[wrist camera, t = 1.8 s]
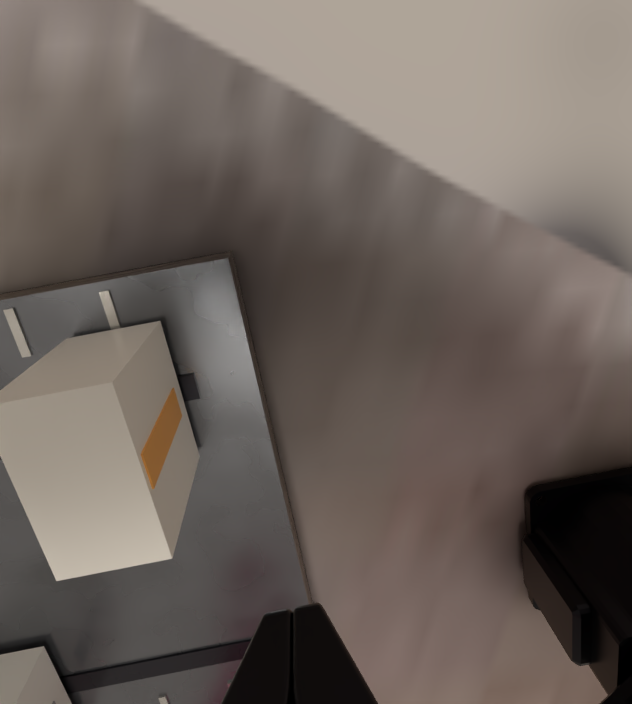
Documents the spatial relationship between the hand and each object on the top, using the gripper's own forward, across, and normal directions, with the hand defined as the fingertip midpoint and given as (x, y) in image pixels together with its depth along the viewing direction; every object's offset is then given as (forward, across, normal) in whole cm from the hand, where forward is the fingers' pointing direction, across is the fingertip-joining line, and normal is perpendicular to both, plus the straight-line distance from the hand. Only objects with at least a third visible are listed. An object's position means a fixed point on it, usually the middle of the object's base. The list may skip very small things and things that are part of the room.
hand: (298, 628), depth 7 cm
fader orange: (+10, +5, 0) cm, 11 cm away
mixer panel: (+12, +10, +6) cm, 16 cm away
